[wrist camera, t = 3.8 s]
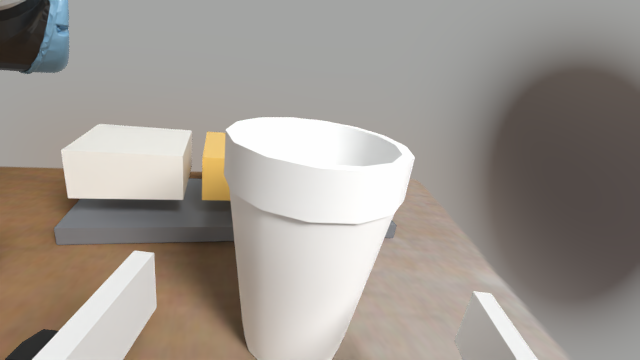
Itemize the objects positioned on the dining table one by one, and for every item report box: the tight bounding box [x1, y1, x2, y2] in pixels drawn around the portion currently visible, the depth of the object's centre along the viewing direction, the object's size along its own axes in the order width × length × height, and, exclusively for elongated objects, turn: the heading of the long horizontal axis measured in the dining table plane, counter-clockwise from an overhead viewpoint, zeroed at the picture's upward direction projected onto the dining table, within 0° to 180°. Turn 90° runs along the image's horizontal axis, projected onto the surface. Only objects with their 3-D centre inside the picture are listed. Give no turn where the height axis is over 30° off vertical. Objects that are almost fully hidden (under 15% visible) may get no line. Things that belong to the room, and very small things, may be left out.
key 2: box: [61, 124, 192, 200], centre depth 30 cm, size 8×8×4 cm
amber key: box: [202, 132, 230, 201], centre depth 33 cm, size 8×8×4 cm
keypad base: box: [54, 178, 397, 245], centre depth 35 cm, size 30×11×2 cm, turn 105°
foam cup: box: [224, 117, 415, 360], centre depth 19 cm, size 10×9×13 cm
